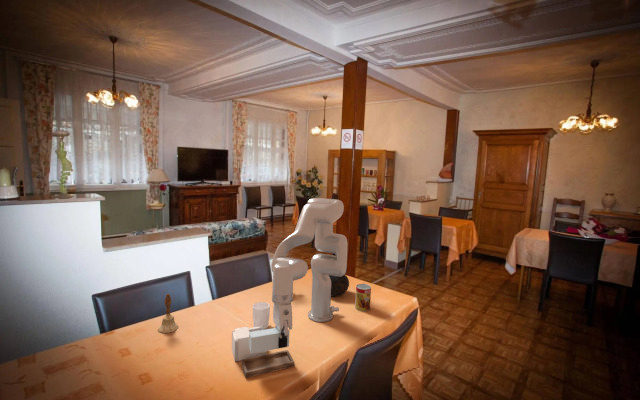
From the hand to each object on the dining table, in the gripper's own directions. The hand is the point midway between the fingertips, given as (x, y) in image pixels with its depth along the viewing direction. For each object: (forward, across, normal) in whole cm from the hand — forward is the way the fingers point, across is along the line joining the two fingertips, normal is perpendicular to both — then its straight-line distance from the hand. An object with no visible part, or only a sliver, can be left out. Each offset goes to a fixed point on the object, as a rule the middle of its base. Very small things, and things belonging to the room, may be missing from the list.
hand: (280, 343), depth 117 cm
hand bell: (+8, +41, +40) cm, 58 cm away
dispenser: (+8, +11, +10) cm, 16 cm away
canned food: (+7, +30, -54) cm, 63 cm away
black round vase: (+7, +53, -48) cm, 72 cm away
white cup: (+8, +29, +1) cm, 30 cm away
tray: (+8, 0, +5) cm, 9 cm away
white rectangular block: (+1, 0, +4) cm, 5 cm away
